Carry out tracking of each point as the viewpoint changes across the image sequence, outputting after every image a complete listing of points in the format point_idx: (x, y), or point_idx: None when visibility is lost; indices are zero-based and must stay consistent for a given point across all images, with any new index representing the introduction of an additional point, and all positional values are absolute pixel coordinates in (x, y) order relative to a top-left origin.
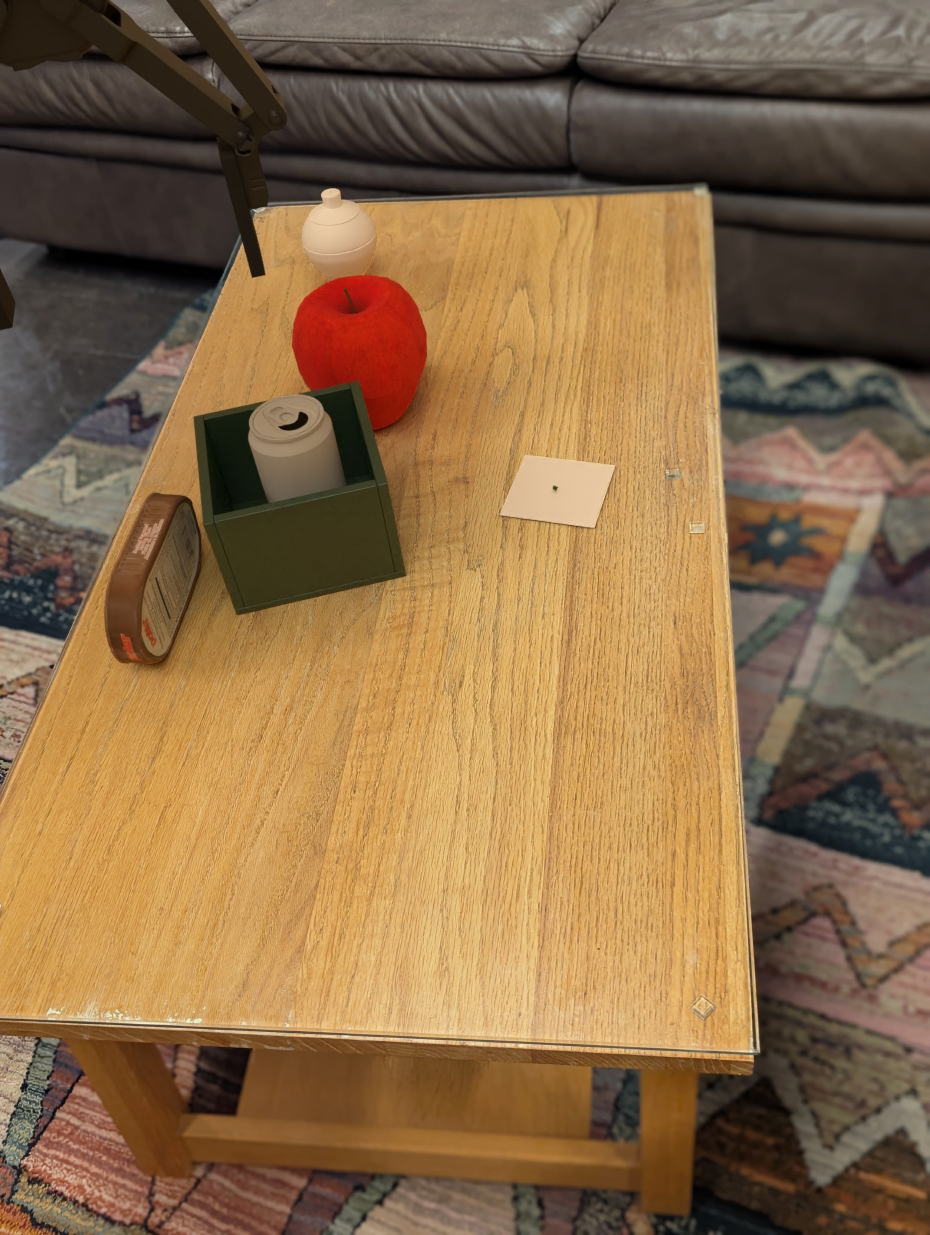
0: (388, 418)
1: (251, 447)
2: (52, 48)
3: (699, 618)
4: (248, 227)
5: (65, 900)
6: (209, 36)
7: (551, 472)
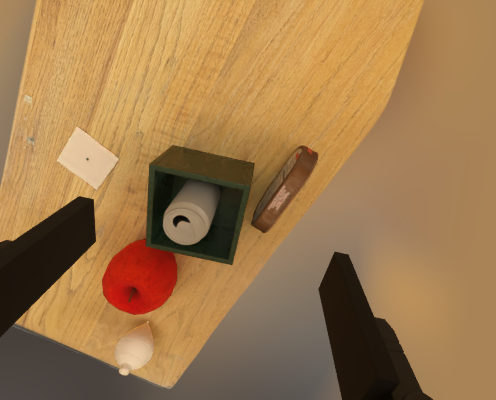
0: None
1: (209, 221)
2: None
3: (41, 37)
4: (44, 225)
5: (386, 28)
6: None
7: (87, 172)
